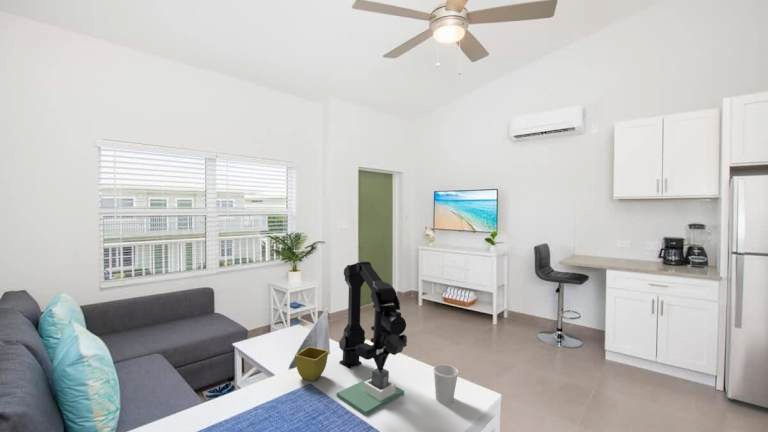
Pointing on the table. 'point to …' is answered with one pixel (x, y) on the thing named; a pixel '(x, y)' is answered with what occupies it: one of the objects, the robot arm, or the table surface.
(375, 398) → the board
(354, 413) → the table surface
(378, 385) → the plug
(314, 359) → the flower pot
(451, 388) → the dixie cup
